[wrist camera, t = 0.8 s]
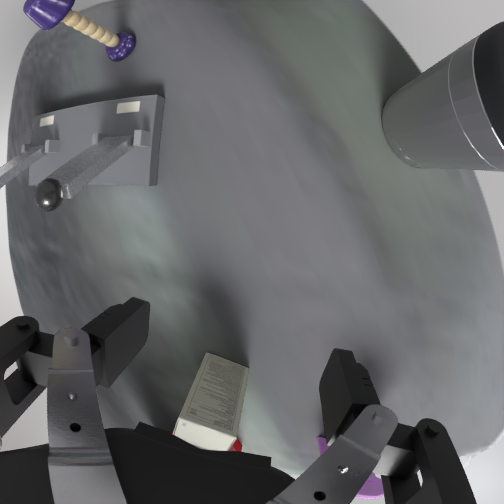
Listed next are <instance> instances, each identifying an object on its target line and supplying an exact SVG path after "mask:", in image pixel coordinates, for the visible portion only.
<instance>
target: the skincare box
mask: <svg viewBox="0 0 504 504" xmlns="http://www.w3.org/2000/svg"><path fill="white" fill-rule="evenodd" d="M248 374H249V368H247V367H245V366H242V365H240V364H237V363H234V362H232V361H229V360H226V359H224V358H221V357H219V356H216V355H213V354H211V353H208V352H206V354H205V356H204V358H203V361H202V363H201V365H200V368H199V370H198V372H197V375H196V377H195V380H194V382H193V384H192V387H191V389H190V391H189V394H188V396H187V398H186V401H185V403H184V406H183V408H182V410H181V413H180V415H179V418H178V420H177V423H176V425H175V428H174V431H173V435H175V436H177V437H179V438H181V439H183V440H184V441H186V442H188V443H190V444H192V445H194V446H196V447H199V448H202V449H205V450H219V451H228V450H229V449H230V447H231V446H232V445H233V443H234V442H235V440H236V439H237V434H238V428H239V423H240V418H241V412H242V407H243V401H244V396H245V390H246V385H247V379H248Z"/></svg>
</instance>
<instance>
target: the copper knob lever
mask: <svg viewBox="0 0 504 504" xmlns="http://www.w3.org/2000/svg"><path fill="white" fill-rule="evenodd" d="M47 154H48V153H45V145H40V146H35V147H30V148H28V149H27V150H25V151H24V152H22V153H21V154H19V155H18V156H16V157H15V158H13V159H12V160H10V161H9V162H7V163H6V164H4V165H3V166H2V167H0V188H1V187H3V186H4V185H5V184H6V183H8V182H9V181H10V180H11V179H13V178H14V177H15V176H17V175H18V174H19V173H21V172H22V171H23V170H25V169H26V168H28V167H29V166H30V165H32V164H33V163H35V162H36V161H38V160H39V159H41V158H42V157H44V156H45V155H47Z"/></svg>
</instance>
